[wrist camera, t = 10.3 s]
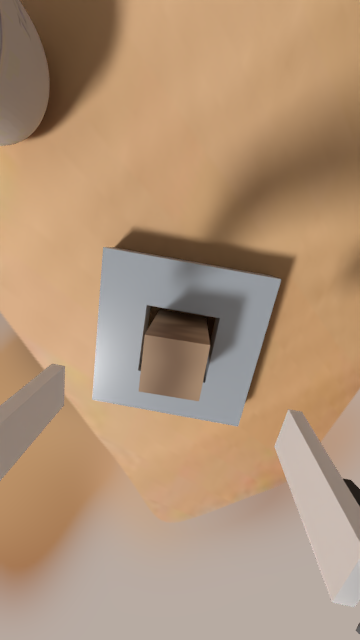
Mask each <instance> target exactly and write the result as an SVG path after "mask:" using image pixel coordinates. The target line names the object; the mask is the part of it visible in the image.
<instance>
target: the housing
mask: <svg viewBox="0 0 360 640" xmlns="http://www.w3.org/2000/svg"><path fill="white" fill-rule="evenodd" d="M280 282H281V279H279V278H277V277H274V276H271V275H265V274H260V273H254V272H249V271H243V270H237V269H232V268H226V267H221V266H215V265H210V264H204V263H198V262H193V261H187V260H182V259H176V258H170V257H165V256H159V255H154V254H148V253H143V252H137V251H131V250H126V249H120V248H115V247H103V258H102V272H101V286H100V300H99V314H98V327H97V341H96V355H95V369H94V383H93V397H92V400H97V401H103V402H108V403H113V404H119V405H124V406H130V407H135V408H141V409H146V410H152V411H157V412H162V413H168V414H173V415H179V416H184V417H190V418H195V419H200V420H206V421H211V422H217V423H222V424H228V425H233V426H238V425H239V421H240V418H241V415H242V411H243V408H244V404H245V401H246V398H247V394H248V391H249V387H250V384H251V381H252V377H253V374H254V370H255V367H256V364H257V360H258V357H259V354H260V350H261V347H262V343H263V340H264V337H265V333H266V330H267V326H268V323H269V320H270V316H271V313H272V309H273V306H274V303H275V299H276V296H277V292H278V289H279V286H280ZM151 306H155V307H160V308H166V309H171V310H177V311H183V312H188V313H194V314H199V315H205V316H210V317H216V318H215V322H214V327H213V331H212V336H211V340H210V349H209V354H208V359H207V364H206V369H205V374H204V379H203V384H202V389H201V394H200V399H199V401H193V400H187V399H181V398H175V397H169V396H163V395H157V394H151V393H144V392H138V391H139V382H140V373H141V364H142V355H143V346H144V337H145V334H146V332H147V330H148V325H149V318H150V310H151Z"/></svg>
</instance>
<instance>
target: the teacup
mask: <svg viewBox="0 0 360 640" xmlns="http://www.w3.org/2000/svg"><path fill="white" fill-rule="evenodd" d="M49 86H50V80H49V70H48V64H47V59H46V56H45V52H44V48H43V45H42V43H41V40H40V38H39V35H38V33H37V31H36V28H35V26H34V24H33V22H32V21H31V19H30V17H29V15H28V13H27V12H26V10H25V8H24V7H23V5H22V4H21V2H20V1H19V0H0V146H6V145H12V144H16V143H18V142H21V141H23V140H24V139H26V138H27V137H29V136H30V135H31V134H32V133H33V132H34V131H35V130H36V129H37V127H38V126H39V124H40V123H41V121H42V119H43V117H44V114H45V112H46V109H47V105H48V99H49Z"/></svg>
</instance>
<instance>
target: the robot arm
mask: <svg viewBox="0 0 360 640" xmlns="http://www.w3.org/2000/svg"><path fill="white" fill-rule="evenodd" d="M64 380H65V366H61V365H56V364H51V365H50V366H49V367H47V368H46V369H45V370H44V371H42V372H41V373H40V374H39V375H38V376H36V377H35V378H34V379H32V380H31V381H30V382H29V383H28V384H26V385H25V386H24V387H23V388H22V389H20V390H19V391H18V392H17V393H15V394H14V395H13V396H11V397H10V398H9V399H8V400H7V401H5V402H4V403H3V404H2V405H0V481H1V479H2V478H3V477H4V476H5V475H6V473H7V472H8V471H9V470H10V469H11V467H12V466H13V465H14V464H15V463H16V461H17V460H18V459H19V458H20V457H21V455H22V454H23V453H24V452H25V451H26V450H27V448H28V447H29V446H30V445H31V444H32V442H33V441H34V440H35V439H36V438H37V437H38V435H39V434H40V433H41V432H42V431H43V429H44V428H45V427H46V426H47V424H48V423H49V422H50V421H51V420H52V419H53V418H54V416H55V415H56V414H57V413H58V412H59V410H60V409H61V408H62V407H63V406H64ZM275 449H276V452H277V455H278V457H279V460H280V463H281V466H282V468H283V471H284V474H285V476H286V479H287V482H288V484H289V487H290V490H291V493H292V495H293V498H294V501H295V503H296V506H297V509H298V511H299V514H300V517H301V520H302V522H303V525H304V528H305V531H306V533H307V536H308V538H309V541H310V544H311V547H312V549H313V552H314V555H315V558H316V560H317V563H318V566H319V568H320V571H321V574H322V576H323V579H324V582H325V585H326V587H327V590H328V593H329V595H330V598H331V601H332V602H333V603H338V604H342V605H347V606H352V607H355V605H356V604H357V603H358V601H359V600H360V489H359V488H358V487H357V486H356V485H355V484H354V483H353V482H352V481H351V480H348V479H342V477H341V475H340V474H339V472H338V470H337V469H336V467H335V465H334V464H333V462H332V461H331V459H330V457H329V456H328V454H327V453H326V451H325V449H324V447H323V446H322V444H321V442H320V441H319V439H318V438H317V436H316V434H315V433H314V431H313V429H312V428H311V426H310V424H309V423H308V421H307V419H306V418H305V416H304V415H303V413H302V412H300V411H295V410H290V409H288V412H287V415H286V417H285V420H284V423H283V425H282V428H281V431H280V433H279V436H278V439H277V441H276V444H275ZM356 631H357V632H358V633H359V634H360V623H359V625H358V627H357V629H356Z"/></svg>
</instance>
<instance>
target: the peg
mask: <svg viewBox="0 0 360 640" xmlns="http://www.w3.org/2000/svg"><path fill="white" fill-rule="evenodd" d="M209 349H210V340H209V334H208V327H207V321H206V316H200V315H194V314H188V313H181V312H175V311H169V310H162V309H159V311H158V313H157V315H156V316H155V318H154V320H153V321H152V323H151V325H150V327H149V328H148V330H147V332H146V334H145V337H144V346H143V355H142V364H141V373H140V382H139V391H138V392H144V393H151V394H157V395H163V396H169V397H175V398H181V399H187V400H193V401H199V399H200V394H201V389H202V384H203V379H204V374H205V369H206V364H207V359H208V354H209Z"/></svg>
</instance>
